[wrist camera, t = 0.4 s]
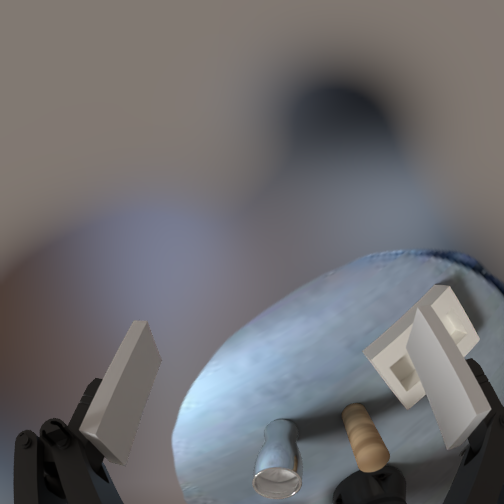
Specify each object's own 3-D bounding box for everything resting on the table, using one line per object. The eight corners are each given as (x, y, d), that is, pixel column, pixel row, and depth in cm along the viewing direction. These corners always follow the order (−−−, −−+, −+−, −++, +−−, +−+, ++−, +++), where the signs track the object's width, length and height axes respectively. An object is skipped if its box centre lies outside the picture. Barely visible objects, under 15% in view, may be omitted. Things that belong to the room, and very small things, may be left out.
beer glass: (253, 435, 45) (240, 486, 30) (276, 410, 45) (271, 458, 30) (285, 453, 44) (282, 506, 29) (309, 428, 44) (314, 479, 29)
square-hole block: (464, 334, 42) (479, 339, 36) (397, 397, 43) (407, 410, 37) (434, 284, 43) (449, 285, 38) (361, 351, 44) (370, 360, 39)
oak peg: (370, 414, 43) (395, 458, 28) (349, 428, 43) (367, 477, 28) (357, 398, 44) (380, 442, 29) (336, 413, 44) (351, 461, 29)
